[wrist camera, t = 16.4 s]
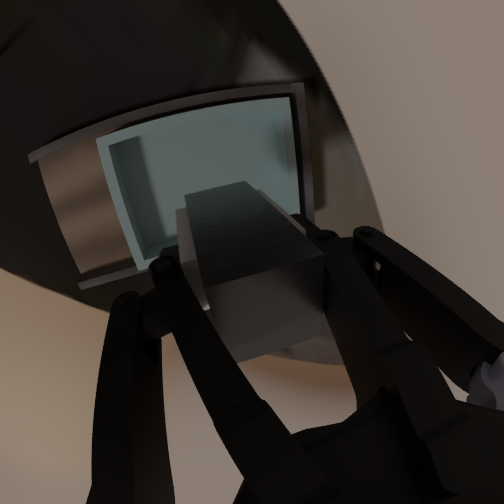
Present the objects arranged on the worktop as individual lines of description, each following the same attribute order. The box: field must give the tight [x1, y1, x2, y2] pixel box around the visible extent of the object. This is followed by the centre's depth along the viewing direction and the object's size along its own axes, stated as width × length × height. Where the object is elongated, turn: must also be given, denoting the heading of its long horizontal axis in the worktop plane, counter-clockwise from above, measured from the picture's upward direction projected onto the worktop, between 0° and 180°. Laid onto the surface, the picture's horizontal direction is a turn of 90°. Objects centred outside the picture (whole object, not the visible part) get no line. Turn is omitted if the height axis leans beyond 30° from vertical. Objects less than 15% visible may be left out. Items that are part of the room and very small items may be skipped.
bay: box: [28, 83, 315, 290], centre depth 26 cm, size 17×29×4 cm, turn 99°
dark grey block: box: [184, 181, 324, 363], centre depth 14 cm, size 4×4×10 cm
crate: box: [96, 97, 300, 271], centre depth 26 cm, size 14×18×4 cm
